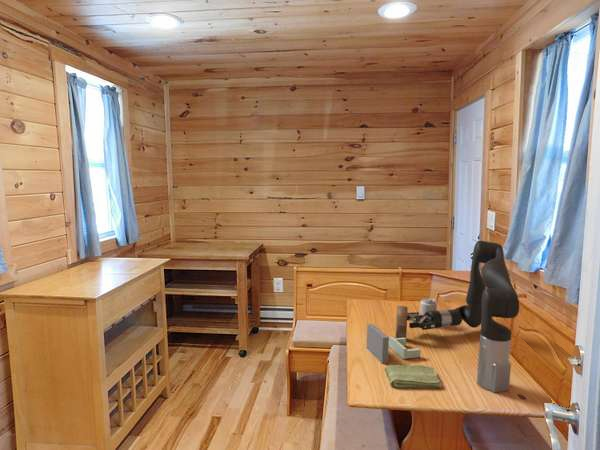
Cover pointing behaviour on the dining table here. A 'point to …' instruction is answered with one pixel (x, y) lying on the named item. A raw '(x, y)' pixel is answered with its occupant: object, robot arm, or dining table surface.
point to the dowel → (401, 322)
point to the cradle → (403, 348)
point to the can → (427, 305)
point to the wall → (377, 343)
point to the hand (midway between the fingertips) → (404, 321)
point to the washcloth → (412, 376)
